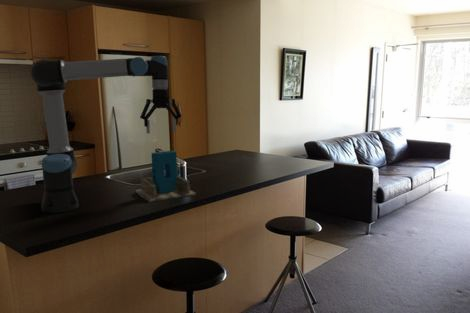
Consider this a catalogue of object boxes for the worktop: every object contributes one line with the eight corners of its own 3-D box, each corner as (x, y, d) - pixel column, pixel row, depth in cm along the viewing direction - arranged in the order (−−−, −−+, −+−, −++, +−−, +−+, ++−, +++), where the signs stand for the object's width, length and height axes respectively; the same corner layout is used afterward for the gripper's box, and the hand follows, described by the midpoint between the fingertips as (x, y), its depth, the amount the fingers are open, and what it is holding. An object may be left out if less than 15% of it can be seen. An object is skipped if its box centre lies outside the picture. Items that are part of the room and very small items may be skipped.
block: (157, 194, 196) (155, 154, 192) (152, 192, 199) (150, 153, 196) (178, 190, 203) (177, 151, 200) (173, 188, 207) (171, 150, 204)
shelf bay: (149, 201, 186) (148, 187, 185) (135, 192, 205) (134, 178, 204) (196, 194, 198) (195, 181, 197) (178, 186, 217) (178, 173, 216)
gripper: (137, 88, 184) (139, 134, 187) (187, 88, 196) (188, 131, 200) (132, 88, 190) (134, 133, 194) (181, 88, 203) (182, 130, 206)
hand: (161, 132), depth 197 cm, fingers open, 13 cm apart
